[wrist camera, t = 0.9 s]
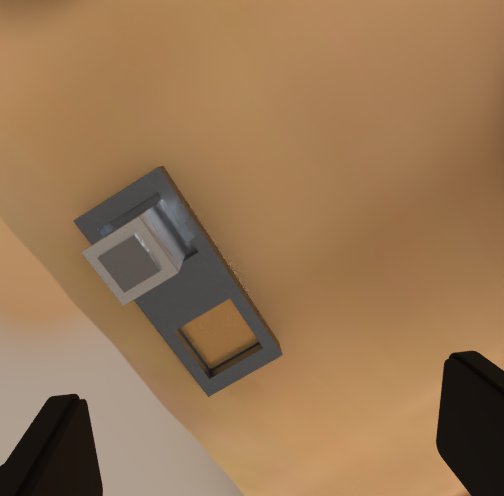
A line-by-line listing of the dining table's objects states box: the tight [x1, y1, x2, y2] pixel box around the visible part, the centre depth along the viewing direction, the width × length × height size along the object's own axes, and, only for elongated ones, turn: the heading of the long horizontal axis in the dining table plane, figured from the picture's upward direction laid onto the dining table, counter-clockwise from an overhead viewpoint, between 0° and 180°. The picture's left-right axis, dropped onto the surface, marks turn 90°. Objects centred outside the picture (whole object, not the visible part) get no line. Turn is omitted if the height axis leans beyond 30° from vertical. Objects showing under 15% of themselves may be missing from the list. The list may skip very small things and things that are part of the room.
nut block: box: [81, 202, 189, 306], centre depth 30 cm, size 5×5×8 cm
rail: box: [74, 166, 282, 397], centre depth 35 cm, size 9×22×2 cm, turn 31°
